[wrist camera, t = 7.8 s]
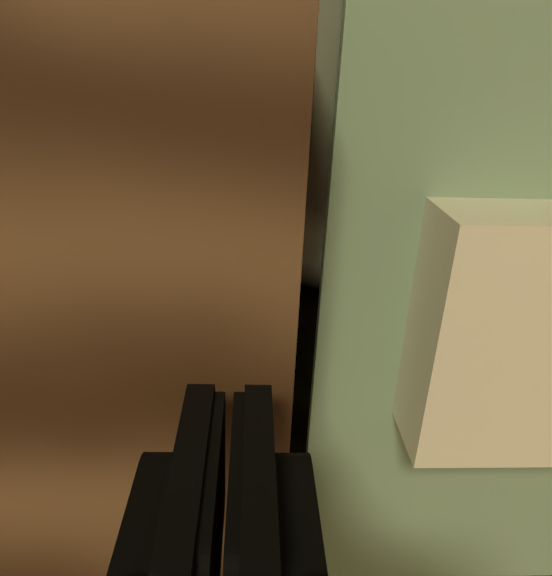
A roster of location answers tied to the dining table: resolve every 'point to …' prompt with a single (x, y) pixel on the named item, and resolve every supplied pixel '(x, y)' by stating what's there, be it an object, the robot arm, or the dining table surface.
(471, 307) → the coaster
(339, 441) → the mat
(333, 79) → the dining table surface
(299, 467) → the robot arm
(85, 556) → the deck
